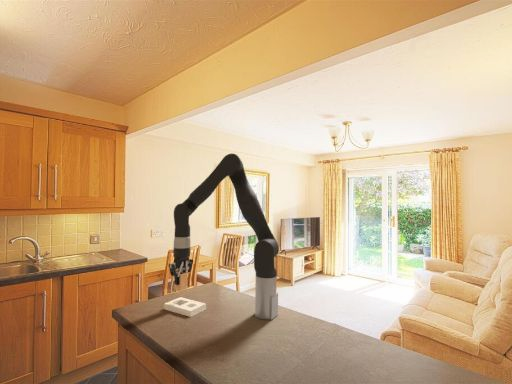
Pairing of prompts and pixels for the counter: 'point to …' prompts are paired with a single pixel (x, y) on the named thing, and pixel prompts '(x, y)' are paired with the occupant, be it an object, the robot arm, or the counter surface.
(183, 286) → the block
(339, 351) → the counter surface
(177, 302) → the power strip
